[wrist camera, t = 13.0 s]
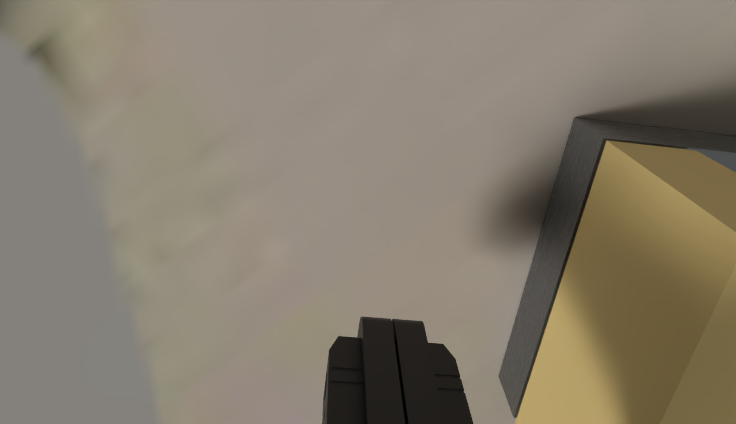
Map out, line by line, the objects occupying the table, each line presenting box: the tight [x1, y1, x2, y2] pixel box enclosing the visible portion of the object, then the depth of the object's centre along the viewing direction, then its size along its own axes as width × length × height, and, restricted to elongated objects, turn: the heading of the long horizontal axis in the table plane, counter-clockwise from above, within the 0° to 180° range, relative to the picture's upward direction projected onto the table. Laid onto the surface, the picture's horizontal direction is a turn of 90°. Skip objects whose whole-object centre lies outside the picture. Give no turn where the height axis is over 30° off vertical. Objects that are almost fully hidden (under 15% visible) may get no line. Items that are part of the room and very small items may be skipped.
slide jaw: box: [516, 141, 736, 424], centre depth 14 cm, size 10×2×6 cm, turn 173°
